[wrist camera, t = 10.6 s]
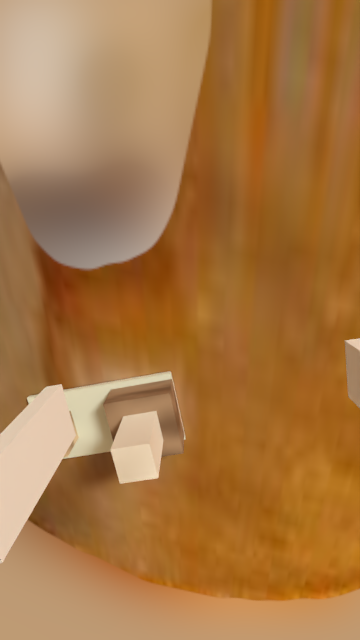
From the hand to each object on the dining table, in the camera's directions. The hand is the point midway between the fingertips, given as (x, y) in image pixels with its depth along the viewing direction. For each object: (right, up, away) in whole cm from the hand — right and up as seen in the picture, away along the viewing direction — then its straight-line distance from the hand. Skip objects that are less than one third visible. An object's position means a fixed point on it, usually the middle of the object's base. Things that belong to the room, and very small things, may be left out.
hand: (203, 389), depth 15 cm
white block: (-7, -13, +34) cm, 37 cm away
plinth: (-6, -12, +39) cm, 41 cm away
